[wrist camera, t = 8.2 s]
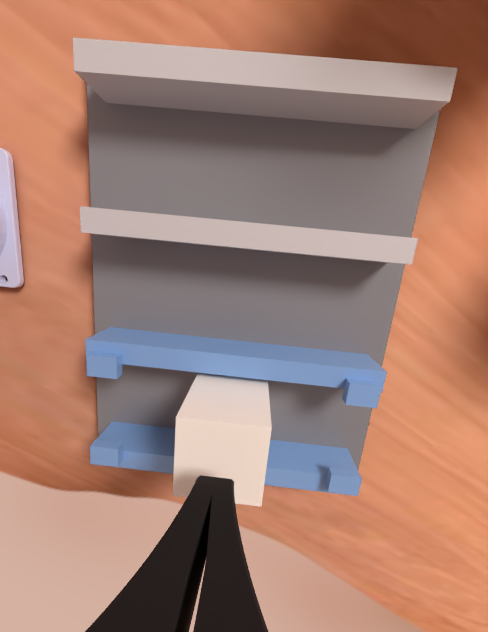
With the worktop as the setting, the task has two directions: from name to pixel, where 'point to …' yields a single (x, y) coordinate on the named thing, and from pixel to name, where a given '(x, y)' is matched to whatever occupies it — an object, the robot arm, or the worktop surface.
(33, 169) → the worktop surface
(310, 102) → the grey railed board
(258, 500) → the cream plug
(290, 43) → the worktop surface
